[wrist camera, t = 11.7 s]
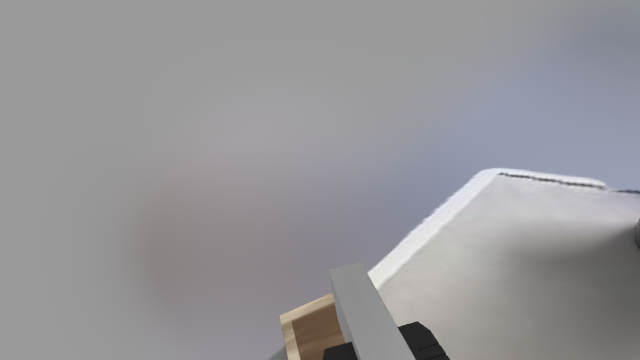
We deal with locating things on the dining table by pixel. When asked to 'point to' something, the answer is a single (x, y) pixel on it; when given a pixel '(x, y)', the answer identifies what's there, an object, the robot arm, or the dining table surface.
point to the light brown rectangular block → (311, 329)
